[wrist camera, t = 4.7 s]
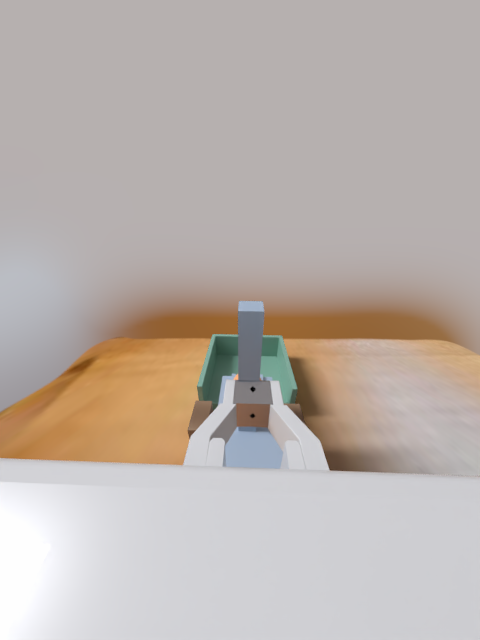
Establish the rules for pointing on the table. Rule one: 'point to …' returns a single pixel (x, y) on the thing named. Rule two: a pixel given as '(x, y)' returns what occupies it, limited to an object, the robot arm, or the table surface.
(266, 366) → the tray
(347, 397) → the table surface
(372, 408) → the table surface
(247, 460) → the lever
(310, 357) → the table surface
